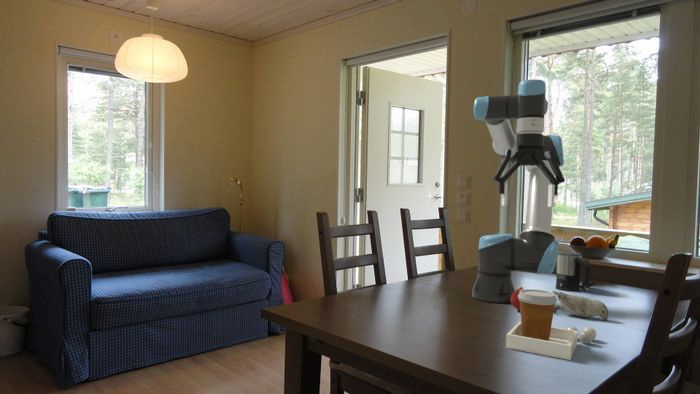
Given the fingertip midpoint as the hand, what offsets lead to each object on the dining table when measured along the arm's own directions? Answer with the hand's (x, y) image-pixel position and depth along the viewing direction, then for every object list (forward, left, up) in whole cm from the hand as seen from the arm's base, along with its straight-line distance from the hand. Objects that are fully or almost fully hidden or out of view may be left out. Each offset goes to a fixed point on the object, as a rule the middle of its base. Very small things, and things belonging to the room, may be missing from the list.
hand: (527, 206), depth 142 cm
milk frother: (+7, +68, -35) cm, 77 cm away
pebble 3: (+18, -6, -35) cm, 39 cm away
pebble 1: (+14, -8, -35) cm, 38 cm away
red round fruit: (-4, +14, -35) cm, 38 cm away
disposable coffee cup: (+7, -17, -34) cm, 39 cm away
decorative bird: (+13, +19, -35) cm, 42 cm away
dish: (+9, -19, -35) cm, 40 cm away
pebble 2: (+18, -10, -35) cm, 40 cm away
